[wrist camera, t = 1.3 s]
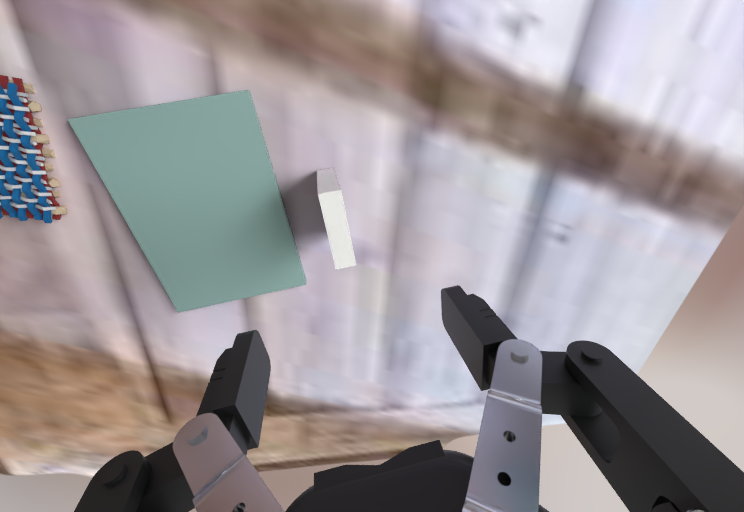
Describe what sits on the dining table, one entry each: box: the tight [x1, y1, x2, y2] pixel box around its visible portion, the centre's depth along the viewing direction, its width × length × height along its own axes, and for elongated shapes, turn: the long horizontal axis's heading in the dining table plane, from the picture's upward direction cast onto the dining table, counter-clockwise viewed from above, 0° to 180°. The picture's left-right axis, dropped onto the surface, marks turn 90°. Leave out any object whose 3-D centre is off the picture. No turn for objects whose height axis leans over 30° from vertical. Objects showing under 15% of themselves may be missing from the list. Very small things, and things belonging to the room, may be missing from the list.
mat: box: [67, 90, 306, 313], centre depth 27 cm, size 18×13×1 cm
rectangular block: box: [317, 168, 356, 270], centre depth 25 cm, size 6×2×8 cm, turn 9°
